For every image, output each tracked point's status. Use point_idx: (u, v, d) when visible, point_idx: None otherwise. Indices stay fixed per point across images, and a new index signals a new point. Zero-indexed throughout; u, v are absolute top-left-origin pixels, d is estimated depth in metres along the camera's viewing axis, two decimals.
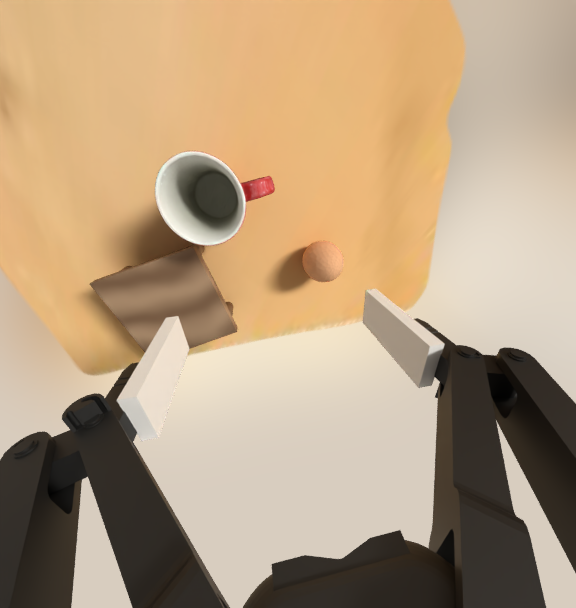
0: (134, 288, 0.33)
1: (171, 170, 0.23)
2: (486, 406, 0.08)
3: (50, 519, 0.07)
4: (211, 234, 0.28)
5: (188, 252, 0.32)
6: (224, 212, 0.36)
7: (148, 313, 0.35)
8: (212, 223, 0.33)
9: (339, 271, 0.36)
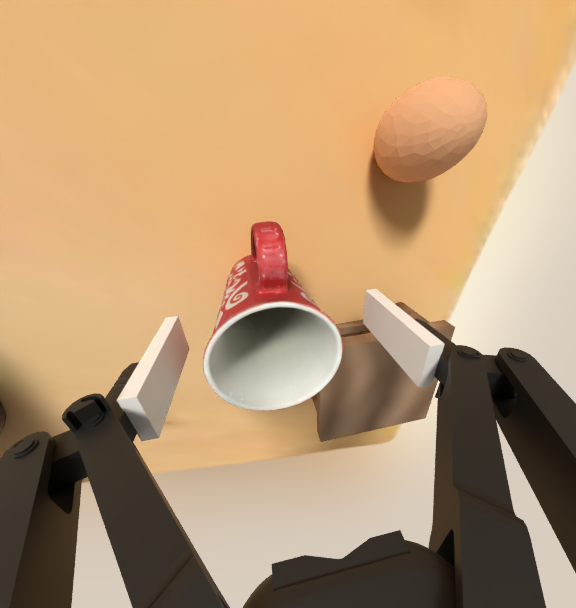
0: (341, 413, 0.28)
1: (226, 381, 0.16)
2: (486, 406, 0.08)
3: (50, 519, 0.07)
4: (318, 345, 0.18)
5: None
6: None
7: (372, 409, 0.29)
8: (295, 312, 0.23)
9: (482, 97, 0.14)
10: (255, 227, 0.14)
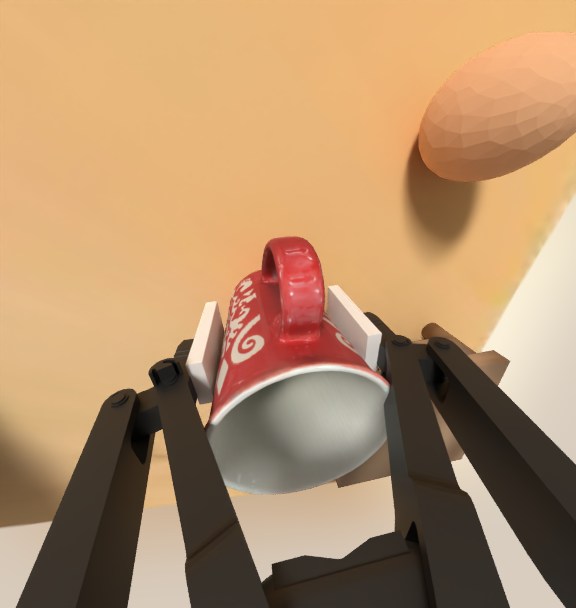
0: None
1: (232, 459, 0.11)
2: (421, 389, 0.09)
3: (130, 466, 0.08)
4: (355, 399, 0.13)
5: None
6: None
7: None
8: None
9: None
10: (276, 247, 0.10)
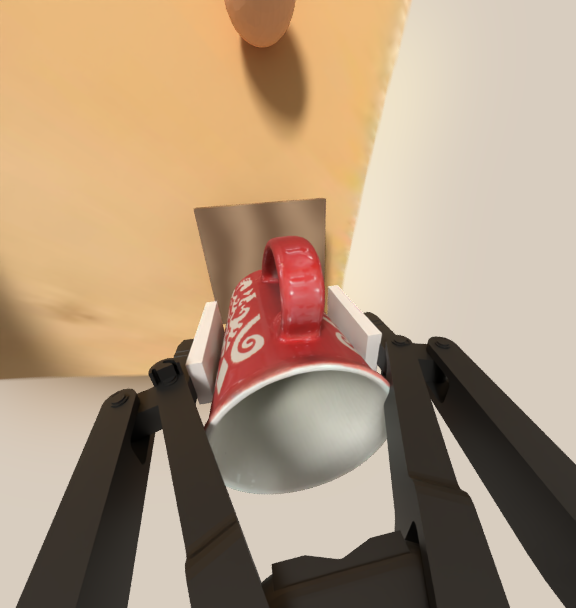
0: (233, 290, 0.30)
1: (232, 458, 0.11)
2: (421, 389, 0.09)
3: (130, 466, 0.08)
4: (355, 398, 0.13)
5: (199, 217, 0.26)
6: None
7: None
8: None
9: None
10: (276, 246, 0.10)
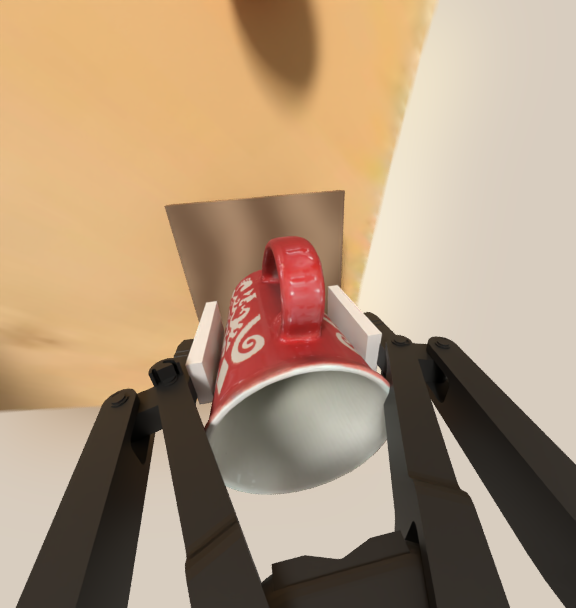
0: (223, 311, 0.23)
1: (232, 459, 0.11)
2: (421, 389, 0.09)
3: (130, 466, 0.08)
4: (355, 399, 0.13)
5: (173, 217, 0.19)
6: None
7: None
8: None
9: None
10: (276, 246, 0.10)
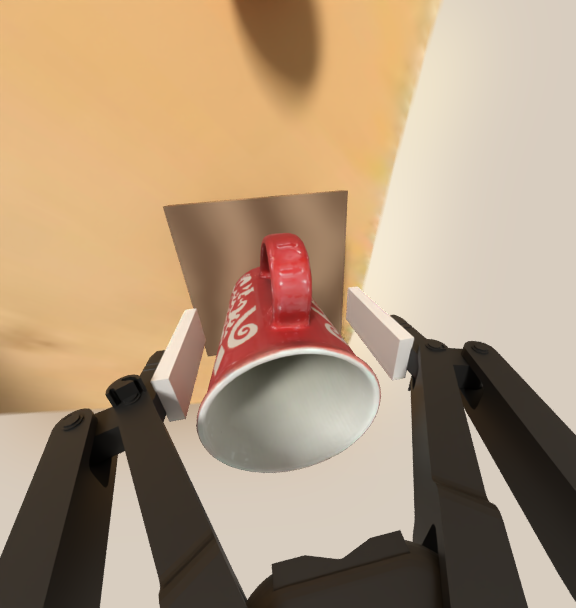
0: (223, 314, 0.23)
1: (227, 437, 0.12)
2: (454, 396, 0.08)
3: (90, 490, 0.07)
4: (344, 387, 0.14)
5: (172, 218, 0.18)
6: None
7: None
8: None
9: None
10: (269, 242, 0.11)
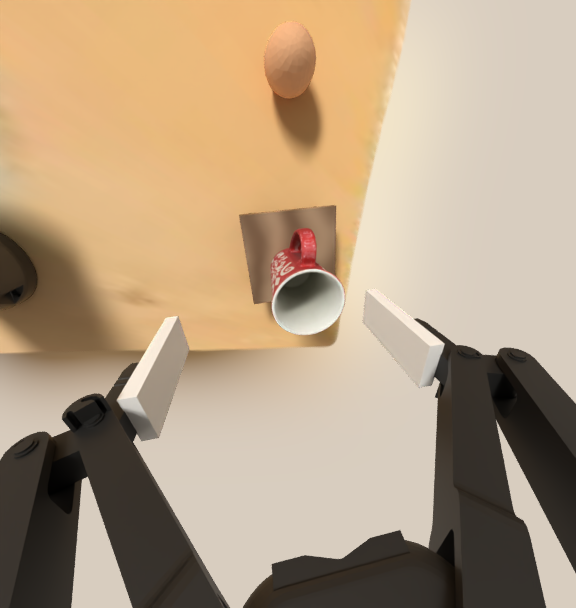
0: (265, 276, 0.39)
1: (280, 316, 0.29)
2: (486, 406, 0.08)
3: (50, 519, 0.07)
4: (331, 299, 0.30)
5: (243, 221, 0.35)
6: None
7: None
8: (316, 285, 0.36)
9: (301, 30, 0.26)
10: (299, 231, 0.27)
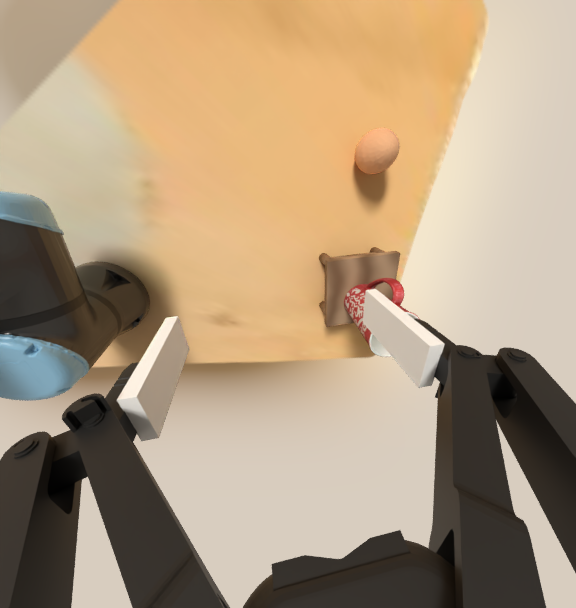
0: (338, 306, 0.49)
1: None
2: (486, 406, 0.08)
3: (50, 519, 0.07)
4: None
5: (329, 266, 0.45)
6: None
7: None
8: None
9: (395, 138, 0.36)
10: (390, 282, 0.37)
